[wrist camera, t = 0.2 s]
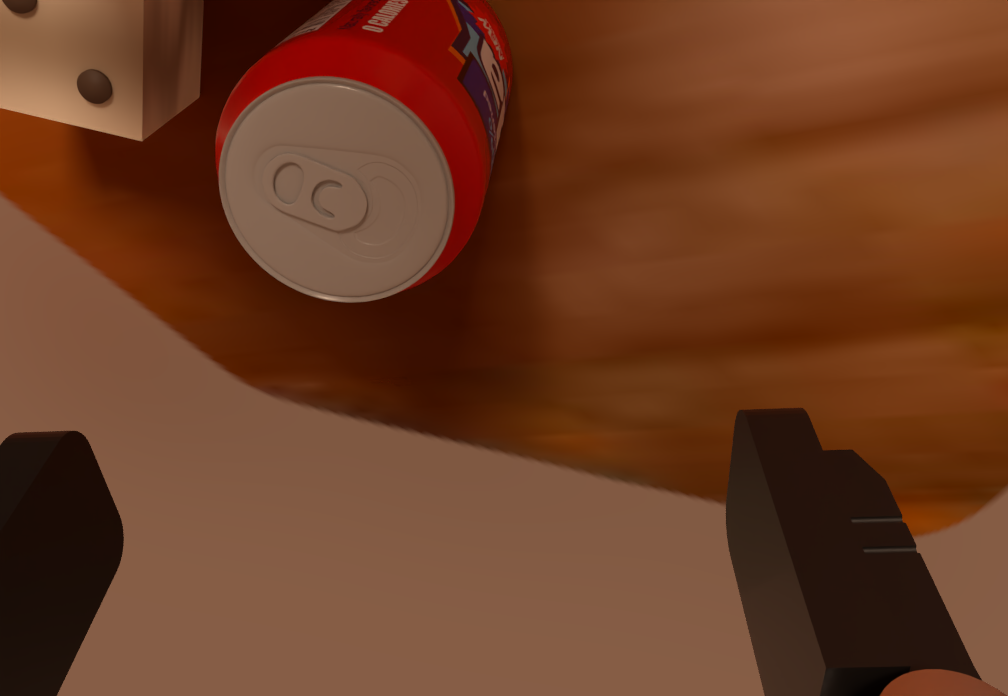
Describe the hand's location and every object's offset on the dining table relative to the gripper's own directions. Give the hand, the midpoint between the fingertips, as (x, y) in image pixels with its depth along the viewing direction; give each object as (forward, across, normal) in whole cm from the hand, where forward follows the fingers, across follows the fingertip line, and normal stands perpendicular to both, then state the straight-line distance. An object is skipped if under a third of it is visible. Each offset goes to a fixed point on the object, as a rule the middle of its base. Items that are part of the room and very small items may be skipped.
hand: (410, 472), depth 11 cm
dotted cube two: (+30, +15, +1) cm, 33 cm away
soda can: (+29, +3, +4) cm, 29 cm away
